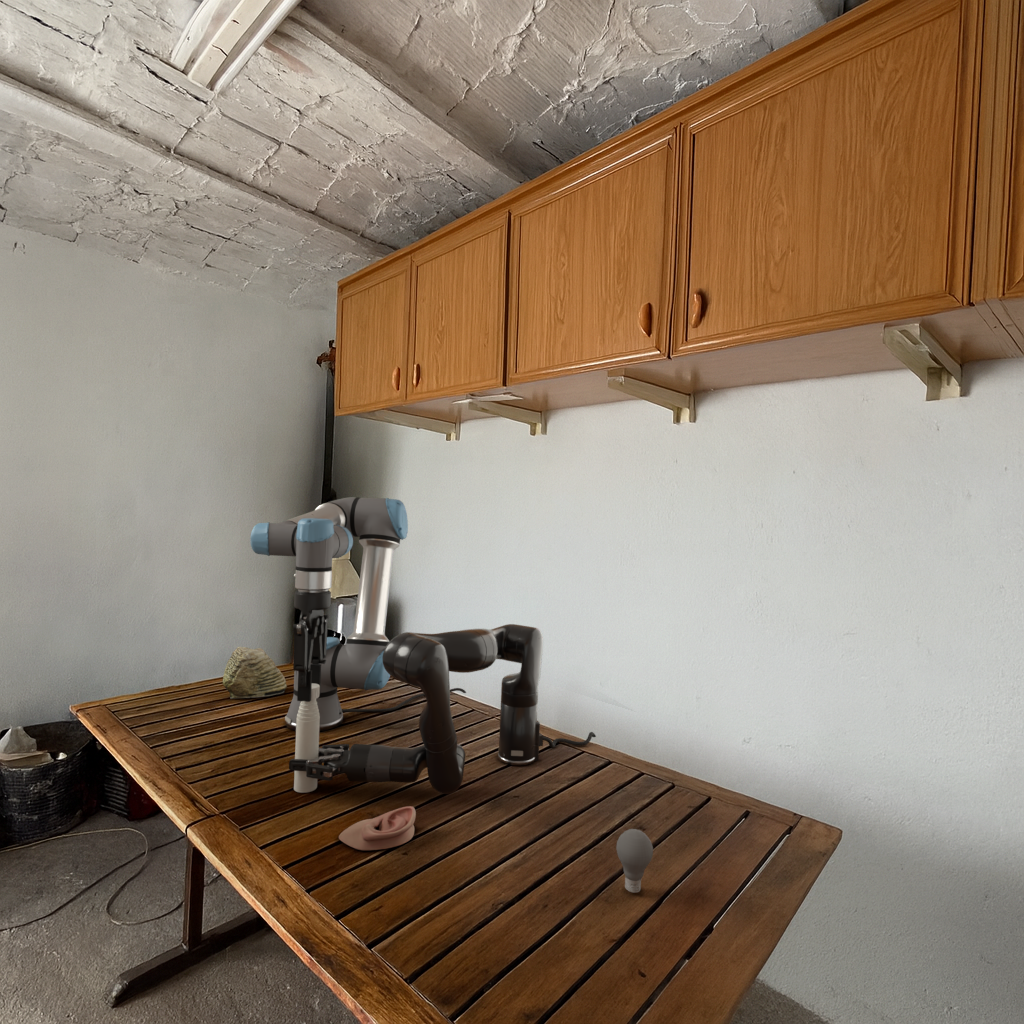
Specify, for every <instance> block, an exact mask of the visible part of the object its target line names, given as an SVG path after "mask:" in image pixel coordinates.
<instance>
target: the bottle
mask: <svg viewBox="0 0 1024 1024" xmlns="http://www.w3.org/2000/svg"><path fill="white" fill-rule="evenodd" d="M319 725H320V716H319V709H318V705H317V701H316V699H312V700H311V701H310V702H306V701H301V703H300V707H299V710H298V714H297V719H296V731H295V748H294V749H295V751H294V759H305V760H313V759H318V752H319V748H320V731H319ZM293 772H294V773H293V774H294V776H293V777H294V778H293V790H294V791H295V792H297V793H301V794H304V793H310V792H313V791H315V790H317V788H318V779H316V778H310V777H306V774H307V773H306V771H293Z"/></svg>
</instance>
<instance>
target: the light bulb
mask: <svg viewBox="0 0 1024 1024" xmlns="http://www.w3.org/2000/svg"><path fill="white" fill-rule="evenodd" d="M615 849H616V854H617V857H618V859H619V861H620V863H621V865H622V867H623V873H624V874H623V875H624V876H625V878H624V888H625V890H627V891H628V892H630V893H634V894H635V893H639V892H640V891H641V889H642V887H641V886H642V879H643V877H644V875H645V871H646V868H647V867H648V866H649V864H650V863H651V861H652V859H653V855H654V847H653V843H652V841H651V838H649V836H648V835H647V834H646V833H645V832H643V831H642V830H641V829H636V828H629V829H627V830H625V831H623V832H622V833H621V834H620V835H619V837H618V839H617V841H616V847H615Z"/></svg>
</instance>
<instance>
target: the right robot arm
mask: <svg viewBox="0 0 1024 1024" xmlns="http://www.w3.org/2000/svg"><path fill="white" fill-rule="evenodd" d="M543 637H544V636H543V633H542V631H541V629H539V628H538V627H534V626H529V625H521V624H514V623H509V624H508V623H507V624H504V625H500V626H498V627H497V626H496V627H494V628H491V629H490V628H489V629H488V628H470V629H469V628H468V629H467V628H466V629H461V630H453V631H445V632H439V633H438V632H437V633H422V632H421V633H420V632H412V631H405V632H402V633H400V634H397V635H396V636H394V637H393V638H392V639H390V640H389V643H388V644H387V646H386V648H385V650H384V652H383V658H382V660H383V665H384V668H385V670H386V671H387V672H388V673H389V674H390V677H392V678H394V679H395V680H397V681H400V682H402V683H404V684H408V685H409V686H413V687H415V688H419V689H421V691H422V694H423V693H424V695H425V696H424V697H425V699H426V703H425V705H424V706H423V708H422V710H421V712H420V715H419V719H418V729H419V733H420V738H421V740H422V743H423V745H421V746H417V747H402V746H401V747H400V746H399V747H398V746H390V745H386V744H385V745H384V744H365V743H364V744H363V743H353V744H352V745H351V747H350V744H349V743H342V744H340V743H339V744H323V745H322V746H321V747H319V752H318V759H313V760H305V759H295V758H291V759H289V761H288V770H289V771H293V772H295V771H306V773H307V774H306V777H310V778H316V779H317V780H321V781H328V782H331V781H333V778H334V775H343V774H345V775H346V779H347V780H348V781H349V782H362V783H404V784H405V783H409V784H411V783H415V782H416V781H418V779H419V778H420V776H421V773H422V772H423V770H424V769H427V770H426V771H427V777H428V781H429V783H430V785H431V787H432V788H433V789H434V790H435V791H436V792H438V793H440V794H444V795H449V794H453V793H455V792H457V791H458V789H459V788H460V787H461V786H462V783H463V779H464V773H465V772H464V770H465V763H466V752H465V749H464V748H463V746H462V745H460V744H458V736H457V732H456V728H455V723H454V719H453V714H452V709H451V692H450V689H451V682H450V672H452V673H461V674H464V673H465V674H467V673H474V672H480V671H483V670H486V669H488V668H489V667H491V666H493V664H494V663H495V662H496V660H501V661H506V662H512V663H516V664H521V666H520V671H519V672H514V673H510V674H506V675H505V676H503V678H502V679H501V685H500V686H501V687H500V688H501V689H500V690H501V691H500V708H499V709H500V711H499V734H498V736H499V737H498V750H497V758H498V760H499V761H500V762H501V763H503V764H506V765H511V766H527V765H530V764H533V763H534V762H537V761H539V756H540V755H539V754H540V747H543V746H544V742H547V743H548V745H549V747H550V748H551V749H554V748H555V747H556V745H557V744H558V743H563V744H564V743H565V744H569V745H572V746H577V747H583V746H587V745H588V744H589V743H590V742H591V740H592V738H597V735H596V734H595V732H593V731H590V732H589V733H588V735H587V738H586V740H583V741H576V740H571V739H569V738H564V737H559V738H554V740H553V741H552V739H551V738H549V737H547V736H545V735H543V734H542V733H541V732H540V731H541V723H540V721H539V720H538V704H539V703H538V702H539V684H540V680H541V674H542V673H541V672H542V662H543V654H544V653H543V652H544V638H543Z"/></svg>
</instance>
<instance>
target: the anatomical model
mask: <svg viewBox="0 0 1024 1024" xmlns="http://www.w3.org/2000/svg"><path fill="white" fill-rule="evenodd" d="M416 816H417V812H416V809H415V807H414V806H413V805H412V806H410V805H407V806H403V807H399V808H395V809H393V810H390V811H388V812H385V813H383V814H380V815H378V816H376V817H373V818H367V819H363V820H360V821H356V822H354V824H351V825H350V826H348V827H346V828H345V829H344V830H343V831H342V832H341V833H340V834H339V835H338V839H339V840H340V841H341V842H342V843H344V844H345V845H347V846H349V847H351V848H353V849H355V850H359V851H378V850H386V849H391V848H395V847H398V846H401V845H404V844H405V843H407V842H409V841H410V840H412V839H413V837H414V835H415V826H414V823H415V821H416Z"/></svg>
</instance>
